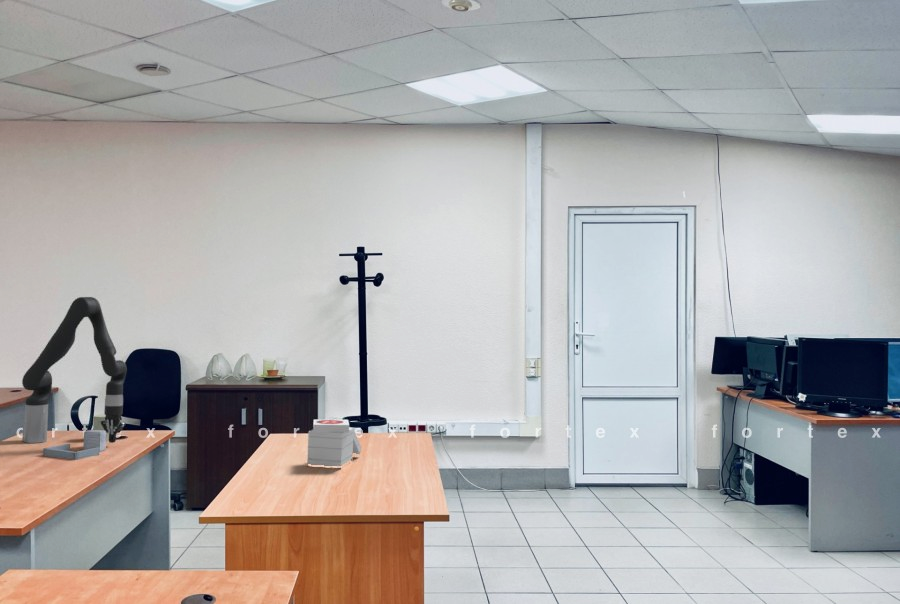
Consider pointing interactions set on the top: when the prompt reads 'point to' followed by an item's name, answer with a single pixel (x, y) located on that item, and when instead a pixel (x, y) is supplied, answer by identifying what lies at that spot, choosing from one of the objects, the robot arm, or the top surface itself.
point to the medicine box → (94, 439)
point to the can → (99, 424)
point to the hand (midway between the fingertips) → (112, 442)
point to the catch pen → (69, 452)
